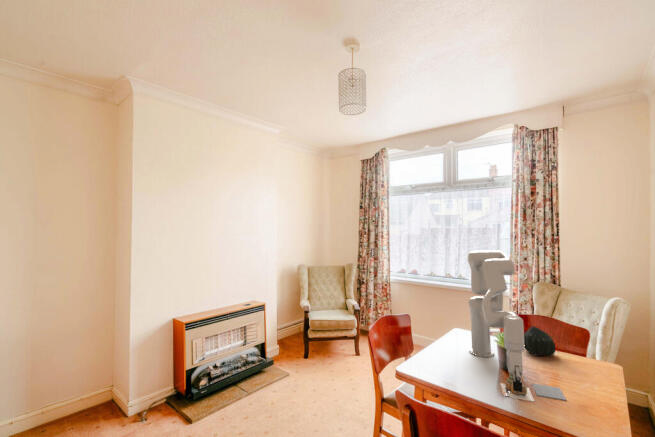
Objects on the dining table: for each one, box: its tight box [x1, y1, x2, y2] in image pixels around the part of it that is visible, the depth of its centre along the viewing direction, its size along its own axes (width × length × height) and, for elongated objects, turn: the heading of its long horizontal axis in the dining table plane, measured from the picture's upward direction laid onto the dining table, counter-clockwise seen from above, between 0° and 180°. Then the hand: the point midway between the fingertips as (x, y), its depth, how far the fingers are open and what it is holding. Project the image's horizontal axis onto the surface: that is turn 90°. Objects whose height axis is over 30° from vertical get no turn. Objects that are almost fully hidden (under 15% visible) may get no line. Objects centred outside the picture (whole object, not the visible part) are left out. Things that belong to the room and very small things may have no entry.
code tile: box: [500, 382, 535, 402], centre depth 129 cm, size 11×11×1 cm
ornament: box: [505, 372, 528, 395], centre depth 129 cm, size 8×6×10 cm
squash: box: [524, 325, 556, 357], centre depth 167 cm, size 14×15×15 cm
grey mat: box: [531, 383, 568, 402], centre depth 128 cm, size 10×10×1 cm
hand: (516, 385), depth 129 cm, fingers closed on ornament, 8 cm apart
